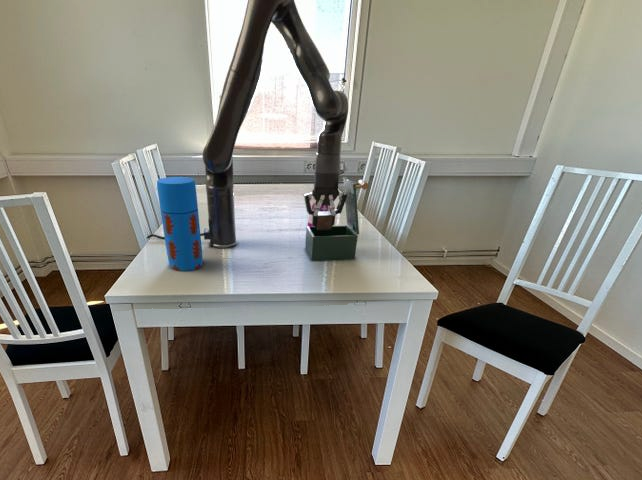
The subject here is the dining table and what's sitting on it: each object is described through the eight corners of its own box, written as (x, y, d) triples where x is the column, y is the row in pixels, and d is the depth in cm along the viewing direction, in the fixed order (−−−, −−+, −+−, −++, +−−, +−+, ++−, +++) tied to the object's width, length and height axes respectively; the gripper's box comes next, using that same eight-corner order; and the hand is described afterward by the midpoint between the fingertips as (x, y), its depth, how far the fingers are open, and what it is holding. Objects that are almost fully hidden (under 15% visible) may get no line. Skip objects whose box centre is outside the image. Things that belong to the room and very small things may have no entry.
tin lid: (353, 184, 117) (371, 179, 117) (343, 177, 127) (360, 172, 126) (356, 234, 126) (373, 230, 126) (347, 224, 136) (363, 220, 135)
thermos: (187, 273, 120) (176, 185, 105) (161, 266, 124) (148, 181, 110) (210, 262, 127) (202, 179, 113) (185, 256, 132) (175, 175, 118)
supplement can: (327, 240, 147) (331, 197, 138) (305, 238, 148) (307, 196, 140) (329, 233, 153) (332, 192, 145) (308, 232, 155) (310, 191, 146)
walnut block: (317, 230, 127) (318, 215, 125) (314, 225, 131) (315, 211, 129) (331, 229, 128) (332, 215, 125) (328, 225, 132) (329, 211, 129)
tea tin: (311, 260, 129) (313, 237, 125) (305, 248, 139) (306, 226, 134) (354, 259, 131) (357, 235, 126) (345, 247, 140) (348, 225, 136)
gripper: (346, 167, 123) (341, 223, 133) (302, 168, 122) (299, 224, 132) (353, 171, 117) (347, 229, 127) (306, 172, 116) (303, 231, 126)
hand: (322, 226), depth 129 cm, fingers closed on walnut block, 4 cm apart
